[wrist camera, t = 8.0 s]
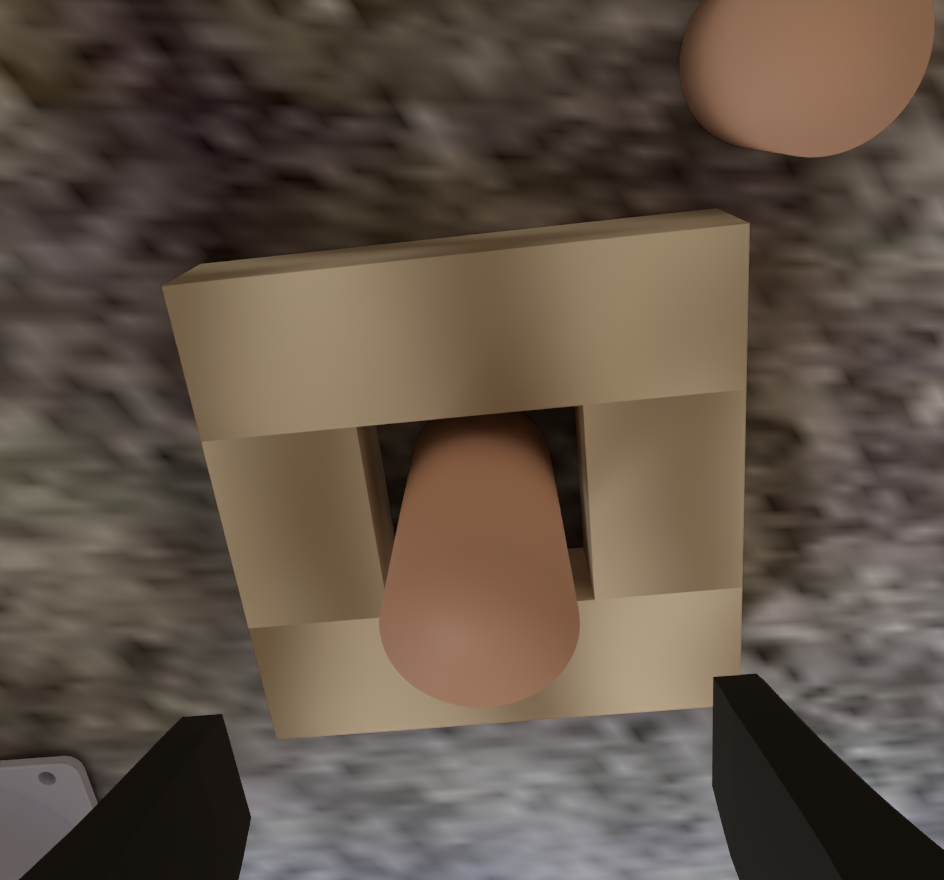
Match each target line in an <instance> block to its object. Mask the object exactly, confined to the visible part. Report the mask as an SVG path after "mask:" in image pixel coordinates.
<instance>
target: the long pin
mask: <svg viewBox="0 0 944 880" xmlns="http://www.w3.org/2000/svg"><path fill="white" fill-rule="evenodd" d="M379 631H380V636H381V641H382V644H383V647H384V650H385V652H386V654H387V656H388V658H389V660H390V662H391V663H392V665H393V666H394V667H395V669H396V670H397V671H398V673H399V674H400V675H401V676H402V677H403V678H404V679H405V680H406V681H408V682H409V683H410V684H411V685H412V686H414V687H415V688H417V689H418V690H420V691H421V692H423V693H425V694H427V695H429V696H431V697H433V698H435V699H438V700H440V701H443V702H446V703H450V704H454V705H458V706H466V707H496V706H501V705H507V704H511V703H514V702H517V701H520V700H523V699H525V698H527V697H530V696H532V695H534V694H535V693H537V692H539V691H541V690H542V689H544V688H545V687H546V686H548V685H549V684H550V683H552V682H553V681H554V680H555V679H556V678H557V677H558V676H559V675H560V674H561V672H562V671H563V670H564V669H565V667H566V666H567V665H568V663H569V661H570V659H571V658H572V656H573V654H574V651H575V649H576V646H577V642H578V638H579V631H580V617H579V609H578V604H577V598H576V593H575V587H574V582H573V576H572V571H571V565H570V560H569V554H568V549H567V543H566V538H565V532H564V527H563V521H562V516H561V510H560V505H559V499H558V494H557V489H556V483H555V478H554V472H553V467H552V461H551V456H550V451H549V447H548V444H547V442H546V439H545V437H544V436H543V434H542V432H541V430H540V429H539V428H538V427H537V425H536V424H535V423H534V422H533V421H532V420H531V419H530V418H529V417H527V416H526V415H525V414H524V413H522V412H520V411H516V412H506V413H496V414H485V415H475V416H464V417H454V418H444V419H433V420H430V421H429V422H428V424H427V425H426V426H425V427H424V428H423V430H422V431H421V433H420V435H419V436H418V439H417V441H416V443H415V446H414V450H413V454H412V458H411V463H410V468H409V473H408V478H407V483H406V487H405V492H404V497H403V502H402V507H401V512H400V516H399V521H398V526H397V531H396V536H395V541H394V546H393V550H392V555H391V560H390V565H389V570H388V575H387V579H386V584H385V589H384V594H383V599H382V604H381V608H380V616H379Z"/></svg>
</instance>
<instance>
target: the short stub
mask: <svg viewBox="0 0 944 880" xmlns="http://www.w3.org/2000/svg"><path fill="white" fill-rule="evenodd" d="M934 24H935V19H934V8H933V2H932V0H702V2H701V3H700V5H699V6H698V7H697V9H696V11H695V12H694V14H693V16H692V18H691V20H690V22H689V24H688V27H687V29H686V31H685V35H684V38H683V42H682V46H681V52H680V63H679V72H680V82H681V87H682V92H683V95H684V98H685V101H686V103H687V105H688V107H689V109H690V111H691V113H692V114H693V116H694V117H695V119H696V120H697V121H698V122H699V123H700V125H701V126H702V127H703V128H704V129H705V130H707V131H708V132H709V133H710V134H712V135H713V136H715V137H716V138H718V139H720V140H722V141H724V142H726V143H729V144H732V145H736V146H740V147H746V148H751V149H757V150H763V151H769V152H775V153H781V154H786V155H792V156H799V157H824V156H830V155H835V154H839V153H842V152H845V151H848V150H851V149H853V148H855V147H857V146H859V145H862V144H863V143H865V142H867V141H868V140H870V139H872V138H873V137H875V136H876V135H877V134H879V133H880V132H881V131H882V130H884V129H885V128H886V127H887V126H888V125H889V124H890V123H891V122H892V121H894V120H895V119H896V118H897V116H898V115H899V114H900V113H901V112H902V110H903V109H904V108H905V107H906V106H907V104H908V103H909V101H910V100H911V98H912V97H913V95H914V94H915V92H916V90H917V88H918V86H919V84H920V82H921V81H922V78H923V76H924V73H925V71H926V68H927V66H928V62H929V59H930V55H931V51H932V46H933V39H934Z"/></svg>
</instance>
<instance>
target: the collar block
mask: <svg viewBox="0 0 944 880" xmlns="http://www.w3.org/2000/svg"><path fill="white" fill-rule="evenodd" d="M749 236H750V223H748V222H746V221H744V220H741V219H739V218H737V217H735V216H733V215H731V214H728V213H726V212H724V211H722V210H720V209H718V208H713V209H704V210H695V211H686V212H677V213H667V214H658V215H649V216H640V217H630V218H621V219H612V220H603V221H593V222H584V223H575V224H566V225H556V226H547V227H538V228H529V229H519V230H510V231H501V232H492V233H482V234H473V235H464V236H455V237H446V238H436V239H427V240H418V241H409V242H399V243H390V244H381V245H372V246H362V247H353V248H344V249H335V250H325V251H316V252H307V253H298V254H288V255H279V256H270V257H261V258H251V259H242V260H233V261H224V262H215V263H205V264H200V265H198V266H196V267H194V268H193V269H191V270H189V271H187V272H186V273H184V274H182V275H180V276H179V277H177V278H175V279H173V280H172V281H170V282H168V283H166V284H165V285H163V286H162V289H163V293H164V297H165V301H166V305H167V309H168V313H169V317H170V321H171V325H172V329H173V333H174V337H175V341H176V345H177V349H178V352H179V356H180V360H181V364H182V368H183V372H184V376H185V380H186V384H187V388H188V392H189V396H190V400H191V404H192V408H193V412H194V416H195V420H196V423H197V427H198V431H199V435H200V439H201V443H202V447H203V451H204V455H205V459H206V463H207V467H208V471H209V475H210V479H211V483H212V487H213V490H214V494H215V498H216V502H217V506H218V510H219V514H220V518H221V522H222V526H223V530H224V534H225V538H226V542H227V546H228V550H229V554H230V557H231V561H232V565H233V569H234V573H235V577H236V581H237V585H238V589H239V593H240V597H241V601H242V605H243V609H244V613H245V617H246V621H247V624H248V628H249V632H250V636H251V640H252V644H253V648H254V652H255V656H256V660H257V664H258V668H259V672H260V676H261V680H262V684H263V688H264V692H265V695H266V699H267V703H268V707H269V711H270V715H271V719H272V723H273V727H274V731H275V735H276V739H291V738H304V737H317V736H330V735H344V734H357V733H370V732H384V731H397V730H410V729H424V728H437V727H450V726H463V725H477V724H490V723H503V722H517V721H530V720H543V719H556V718H570V717H583V716H596V715H610V714H623V713H636V712H650V711H663V710H676V709H689V708H703V707H713V677H718V676H732V675H741V626H742V577H743V529H744V480H745V431H746V382H747V333H748V285H749ZM569 406H574V411H575V426H576V442H577V457H578V473H579V488H580V504H581V519H582V535H583V547H582V548H570V549H568V554H569V560H570V565H571V571H572V576H573V582H574V587H575V593H576V598H577V604H578V609H579V617H580V631H579V638H578V642H577V646H576V649H575V651H574V654H573V656H572V658H571V659H570V661H569V663H568V665H567V666H566V667H565V669H564V670H563V671H562V672H561V674H560V675H559V676H558V677H557V678H556V679H555V680H554V681H553V682H552V683H550V684H549V685H548V686H546V687H545V688H544V689H542V690H541V691H539V692H537V693H535V694H534V695H532V696H530V697H527V698H525V699H523V700H520V701H517V702H514V703H511V704H507V705H501V706H496V707H466V706H458V705H454V704H450V703H446V702H443V701H440V700H438V699H435V698H433V697H431V696H429V695H427V694H425V693H423V692H421V691H420V690H418V689H417V688H415V687H414V686H412V685H411V684H410V683H409V682H408V681H406V680H405V679H404V678H403V677H402V676H401V675H400V674H399V673H398V671H397V670H396V669H395V667H394V666H393V665H392V663H391V662H390V660H389V658H388V656H387V654H386V652H385V650H384V647H383V644H382V641H381V636H380V631H379V616H380V608H381V604H382V599H383V594H384V589H385V584H386V579H387V575H388V570H389V565H390V560H391V555H392V550H393V546H394V541H395V535H394V529H393V523H392V517H391V511H390V505H389V498H388V492H387V486H386V480H385V474H384V468H383V462H382V456H381V450H380V444H379V437H378V431H377V425H381V424H391V423H402V422H412V421H423V420H433V419H444V418H454V417H464V416H475V415H485V414H496V413H506V412H516V411H527V410H537V409H548V408H558V407H569Z"/></svg>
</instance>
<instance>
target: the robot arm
mask: <svg viewBox="0 0 944 880" xmlns="http://www.w3.org/2000/svg"><path fill="white" fill-rule="evenodd" d="M47 772H49V773H51V774H53V775H51V774H49V773H47ZM712 787H713V790H714V794H715V798H716V802H717V806H718V810H719V814H720V818H721V822H722V826H723V830H724V833H725V837H726V841H727V844H728V848H729V852H730V855H731V858H732V861H733V864H734V867H735V869H736V872H737V875H738V877H739V880H944V850H943V849H942V848H941V847H940V846H938V845H937V844H936V843H935V842H933V841H932V840H931V839H930V838H929V837H927V836H926V835H925V834H924V833H923V832H921V831H920V830H919V829H918V828H917V827H916V826H914V825H913V824H912V823H911V822H910V821H909V820H907V819H906V818H905V817H904V816H903V815H902V814H900V813H899V812H898V811H897V810H896V809H894V808H893V807H892V806H891V805H890V804H889V803H888V802H887V801H886V800H884V799H883V798H882V797H881V796H880V795H879V794H878V793H877V792H876V791H874V790H873V789H872V788H871V787H870V786H869V785H868V784H867V783H866V782H865V781H864V780H863V779H862V778H860V777H859V776H858V775H857V774H856V773H855V772H854V771H853V770H852V769H851V768H850V767H849V766H848V765H847V764H846V763H845V762H843V761H842V760H841V759H840V758H839V757H838V756H837V755H836V754H835V753H834V752H833V751H832V750H831V749H830V748H829V747H828V746H827V745H826V744H825V743H824V742H823V741H822V740H821V739H820V738H819V737H818V736H817V735H816V734H815V733H814V732H813V731H812V730H811V729H810V728H809V727H808V726H807V725H806V724H805V723H804V722H803V721H802V720H801V719H800V718H799V717H798V716H797V715H796V714H795V713H794V712H793V710H792V709H791V708H790V707H789V706H788V705H787V704H786V703H785V702H784V701H783V700H782V699H781V698H780V697H779V696H778V695H777V694H776V692H775V691H774V690H773V689H772V688H771V687H770V686H769V685H768V684H767V683H766V682H765V681H764V680H763V679H762V678H761V677H760V676H758V675H757V674H745V675H732V676H718V677H713V762H712ZM250 820H251V816H250V812H249V808H248V805H247V801H246V798H245V794H244V791H243V787H242V783H241V780H240V776H239V773H238V769H237V765H236V762H235V758H234V755H233V751H232V747H231V744H230V740H229V737H228V733H227V730H226V726H225V722H224V719H223V715H222V714H217V715H204V716H191V717H182V718H181V719H180V720H179V721H178V722H177V723H176V724H175V725H174V726H173V727H172V728H171V729H170V730H169V731H168V732H167V733H166V734H165V735H164V736H163V737H162V738H161V739H160V740H159V741H158V742H157V743H156V744H155V745H154V746H153V747H152V748H151V749H150V750H149V751H148V752H147V753H146V754H145V756H144V757H143V758H142V759H141V760H140V761H139V762H138V763H137V764H136V765H135V766H134V767H133V768H132V769H131V770H130V771H129V772H128V773H127V774H126V775H125V776H124V777H123V778H122V779H121V781H120V782H119V783H118V784H117V785H116V786H115V787H114V788H113V789H112V790H111V791H110V792H109V793H108V794H107V795H106V796H105V797H104V798H103V799H102V800H101V801H100V802H99V803H98V802H97V800H96V797H95V794H94V792H93V789H92V786H91V784H90V781H89V778H88V776H87V773H86V770H85V768H84V766H83V764H82V763H81V762H80V761H79V760H78V759H76V758H74V757H71V756H56V757H42V758H29V759H16V760H2V761H0V880H238V879H239V875H240V870H241V866H242V861H243V857H244V851H245V846H246V841H247V836H248V831H249V825H250Z"/></svg>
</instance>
